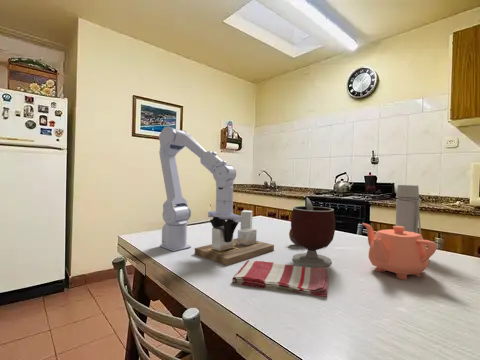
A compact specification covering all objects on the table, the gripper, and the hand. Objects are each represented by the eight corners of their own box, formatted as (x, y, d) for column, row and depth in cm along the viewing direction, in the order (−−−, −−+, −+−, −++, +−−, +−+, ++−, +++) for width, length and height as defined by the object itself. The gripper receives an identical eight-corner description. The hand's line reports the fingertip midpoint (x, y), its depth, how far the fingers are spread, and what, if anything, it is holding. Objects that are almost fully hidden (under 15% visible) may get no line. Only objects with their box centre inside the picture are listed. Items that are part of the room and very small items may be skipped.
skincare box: (249, 240, 112) (250, 212, 111) (240, 239, 112) (240, 211, 112) (252, 237, 118) (252, 210, 117) (242, 236, 118) (243, 209, 118)
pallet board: (194, 253, 91) (194, 247, 91) (242, 242, 109) (242, 236, 109) (227, 265, 80) (227, 258, 80) (273, 250, 98) (274, 244, 98)
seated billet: (237, 249, 98) (237, 230, 98) (248, 246, 102) (248, 228, 102) (245, 251, 95) (245, 232, 95) (256, 248, 100) (256, 229, 99)
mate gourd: (340, 268, 80) (342, 202, 79) (294, 267, 80) (296, 201, 79) (324, 253, 95) (326, 197, 95) (286, 252, 95) (287, 196, 95)
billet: (212, 248, 89) (212, 227, 89) (225, 245, 93) (225, 225, 93) (220, 251, 86) (220, 229, 86) (233, 247, 90) (233, 226, 90)
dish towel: (328, 300, 60) (328, 288, 60) (230, 285, 67) (230, 275, 67) (326, 274, 76) (326, 265, 76) (247, 264, 83) (248, 256, 83)
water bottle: (389, 250, 101) (391, 184, 101) (404, 249, 103) (406, 184, 103) (411, 257, 92) (413, 185, 92) (427, 255, 95) (430, 186, 94)
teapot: (372, 278, 72) (374, 229, 72) (360, 260, 88) (361, 219, 88) (441, 286, 68) (443, 233, 68) (415, 265, 84) (416, 223, 84)
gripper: (201, 199, 92) (200, 238, 92) (231, 203, 82) (230, 247, 82) (216, 198, 97) (216, 235, 97) (246, 201, 87) (245, 243, 87)
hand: (223, 240), depth 90 cm, fingers closed on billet, 4 cm apart
